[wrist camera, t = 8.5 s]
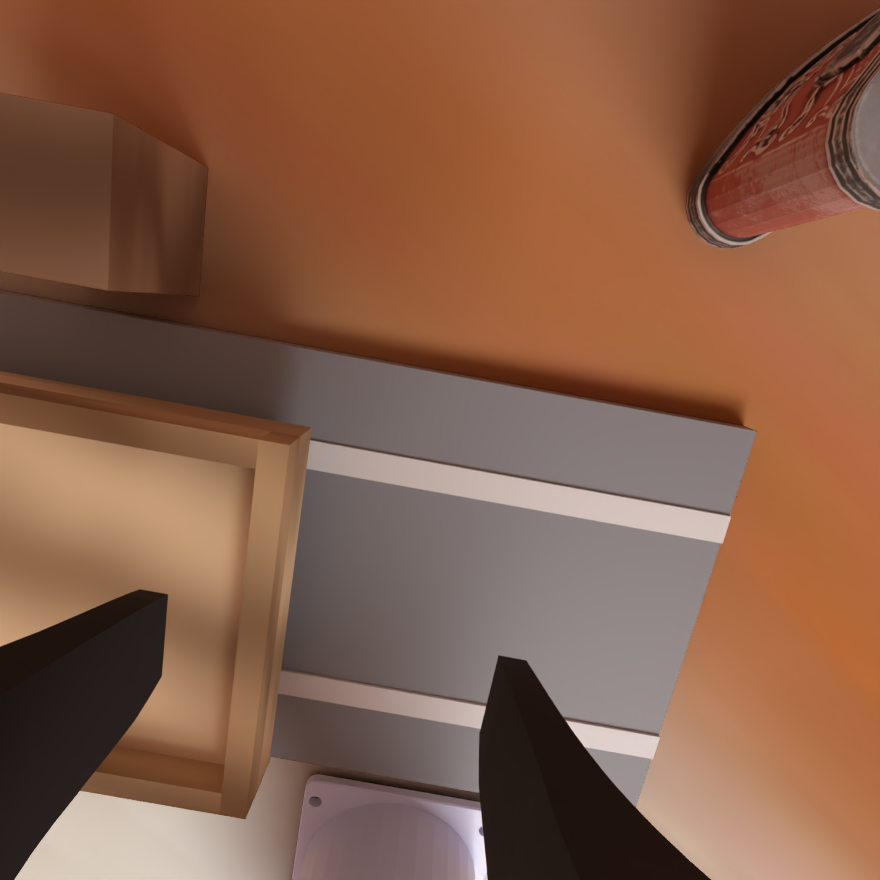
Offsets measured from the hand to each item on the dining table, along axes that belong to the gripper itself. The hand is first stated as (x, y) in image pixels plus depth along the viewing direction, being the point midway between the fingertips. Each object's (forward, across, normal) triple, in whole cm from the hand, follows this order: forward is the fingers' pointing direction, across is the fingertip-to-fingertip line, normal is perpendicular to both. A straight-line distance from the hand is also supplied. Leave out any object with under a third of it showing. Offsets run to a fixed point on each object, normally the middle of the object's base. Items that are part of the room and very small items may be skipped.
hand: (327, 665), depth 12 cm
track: (+8, +3, +2) cm, 9 cm away
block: (+9, +9, -8) cm, 15 cm away
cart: (+8, +9, +2) cm, 12 cm away
